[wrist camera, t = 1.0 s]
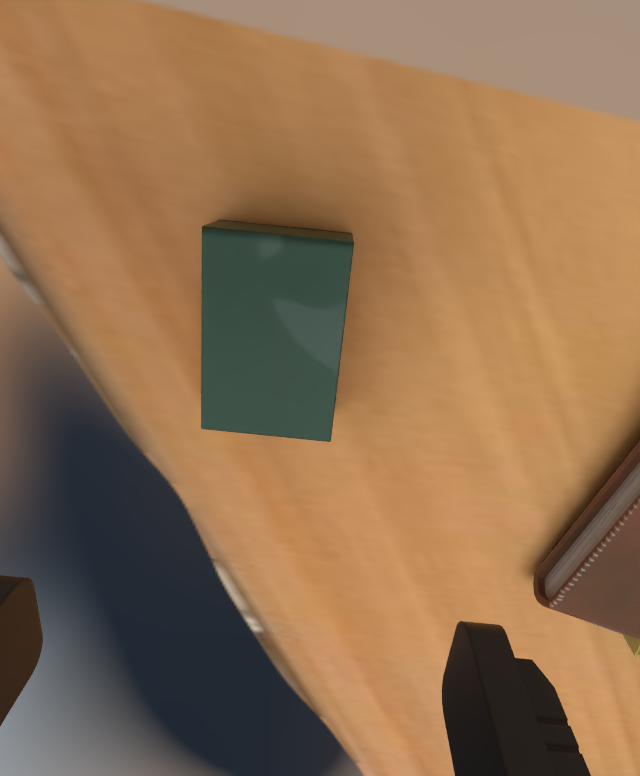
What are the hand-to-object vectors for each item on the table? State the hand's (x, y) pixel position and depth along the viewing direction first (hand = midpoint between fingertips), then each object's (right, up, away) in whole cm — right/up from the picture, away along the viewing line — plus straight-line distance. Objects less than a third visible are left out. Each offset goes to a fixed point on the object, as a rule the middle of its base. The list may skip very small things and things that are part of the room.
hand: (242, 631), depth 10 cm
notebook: (0, +8, +15) cm, 17 cm away
